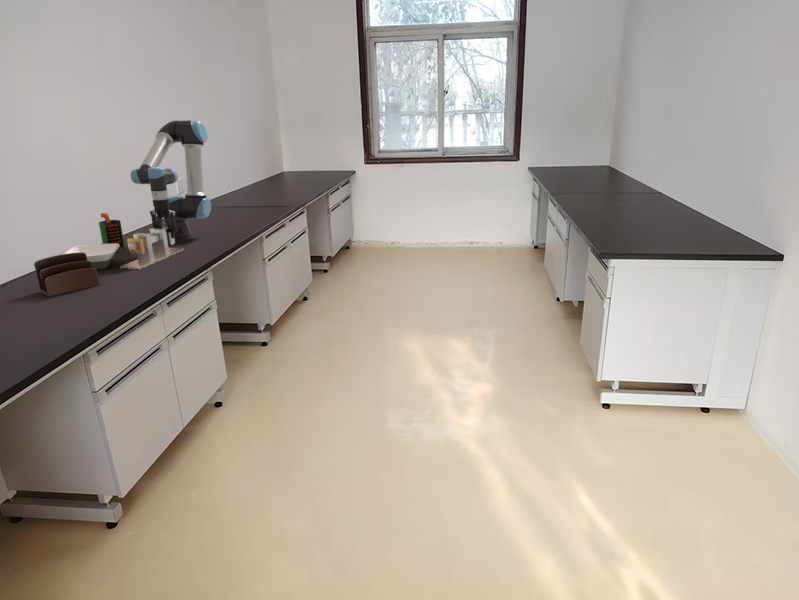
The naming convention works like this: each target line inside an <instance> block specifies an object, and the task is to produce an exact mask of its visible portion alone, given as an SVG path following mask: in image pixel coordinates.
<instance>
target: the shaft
mask: <svg viewBox="0 0 799 600" xmlns="http://www.w3.org/2000/svg"><path fill="white" fill-rule="evenodd" d="M162 228H165V229H166V235H167V241H168V244H170V239H169V233H168V232H169V228H168V227H165V226H162ZM150 237H151V243H154V242H157V241H159V240H160V234H153V235H150ZM174 241H176V239H175V238H174ZM143 243H144V240H143ZM144 246H145V245H144ZM127 247H128V251H129V250H136V249H138V248H139V244H138V242H130V243H128V242H127Z"/></svg>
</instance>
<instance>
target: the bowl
mask: <svg viewBox="0 0 799 600" xmlns="http://www.w3.org/2000/svg"><path fill="white" fill-rule="evenodd" d="M119 246H120V245H119V244H118V243H115V244H103V243H98V244H97V243H95V244H86V245H85V244H83V245H75V246H73V247H71V248H69V249H68V250H67V251H65V252H64V253H63V254H69V253H85V254H86V256H87V261H91V263H92V268H95V269H96V270H97V269H98V270H104V269H106V268H107V267H108V266H109V265H110V263H111V261H112V259H113V256H114V255H115V254H116V253H115V252H116V251H117V249H118V248H119Z"/></svg>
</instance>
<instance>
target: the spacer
mask: <svg viewBox="0 0 799 600" xmlns="http://www.w3.org/2000/svg"><path fill="white" fill-rule="evenodd" d="M126 240H127V244H128V243H130V242H138V244H139V249H140V250H136V249H135V250H129V249H128V251H129V254H131V255H137V254H145V248H144V243H143V239H134V237H133V238H127V239H126Z"/></svg>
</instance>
